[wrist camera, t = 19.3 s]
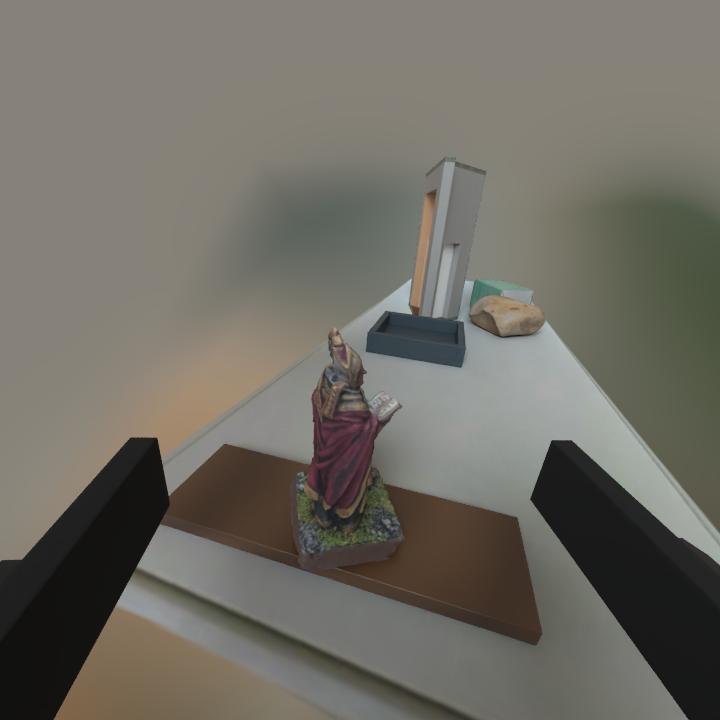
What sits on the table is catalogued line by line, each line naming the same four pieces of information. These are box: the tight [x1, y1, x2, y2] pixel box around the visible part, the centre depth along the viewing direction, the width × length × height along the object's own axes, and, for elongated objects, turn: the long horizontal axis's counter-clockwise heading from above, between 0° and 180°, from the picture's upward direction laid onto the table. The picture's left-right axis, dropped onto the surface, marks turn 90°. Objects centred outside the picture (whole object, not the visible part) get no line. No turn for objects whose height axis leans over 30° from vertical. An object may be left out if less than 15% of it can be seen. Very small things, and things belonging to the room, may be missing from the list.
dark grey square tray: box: [366, 311, 466, 367], centre depth 54 cm, size 14×14×3 cm
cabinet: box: [409, 157, 486, 320], centre depth 66 cm, size 21×10×28 cm, turn 178°
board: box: [160, 444, 542, 645], centre depth 21 cm, size 22×7×1 cm, turn 75°
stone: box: [468, 295, 545, 336], centre depth 64 cm, size 14×11×8 cm
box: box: [470, 279, 534, 309], centre depth 75 cm, size 7×14×8 cm, turn 6°
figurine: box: [289, 328, 405, 572], centre depth 19 cm, size 6×6×12 cm
